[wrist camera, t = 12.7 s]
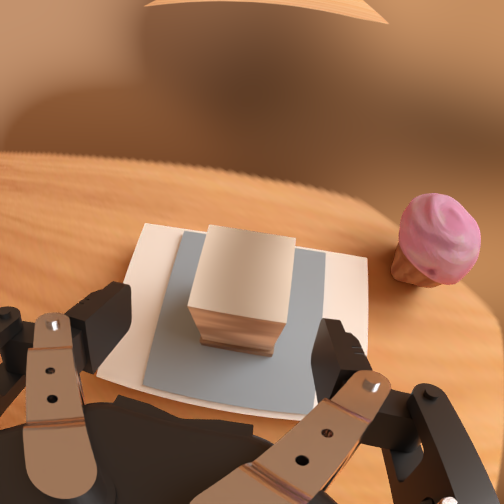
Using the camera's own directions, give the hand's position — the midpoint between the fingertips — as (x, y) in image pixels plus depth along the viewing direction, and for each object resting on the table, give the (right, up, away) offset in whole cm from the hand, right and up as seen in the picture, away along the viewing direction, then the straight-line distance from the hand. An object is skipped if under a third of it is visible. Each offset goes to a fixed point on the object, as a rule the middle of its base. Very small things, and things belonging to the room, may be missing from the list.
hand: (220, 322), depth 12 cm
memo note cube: (+1, -2, +10) cm, 10 cm away
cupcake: (+18, +1, +18) cm, 25 cm away
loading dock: (0, -4, +14) cm, 14 cm away
